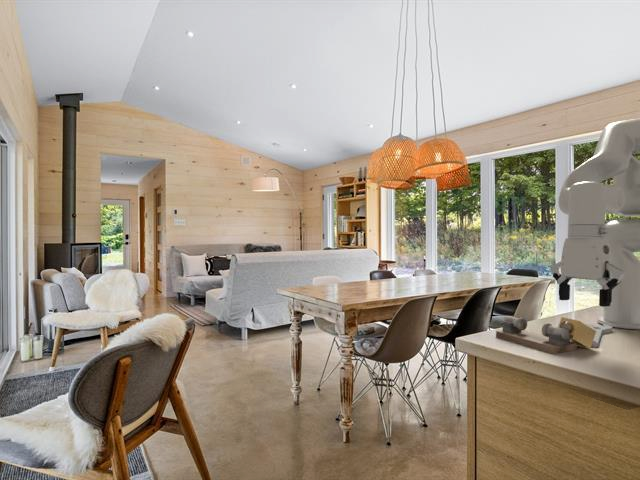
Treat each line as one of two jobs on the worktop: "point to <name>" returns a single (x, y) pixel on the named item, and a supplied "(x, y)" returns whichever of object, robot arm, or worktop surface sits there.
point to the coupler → (578, 332)
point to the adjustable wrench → (599, 333)
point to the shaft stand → (536, 336)
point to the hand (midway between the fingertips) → (583, 302)
